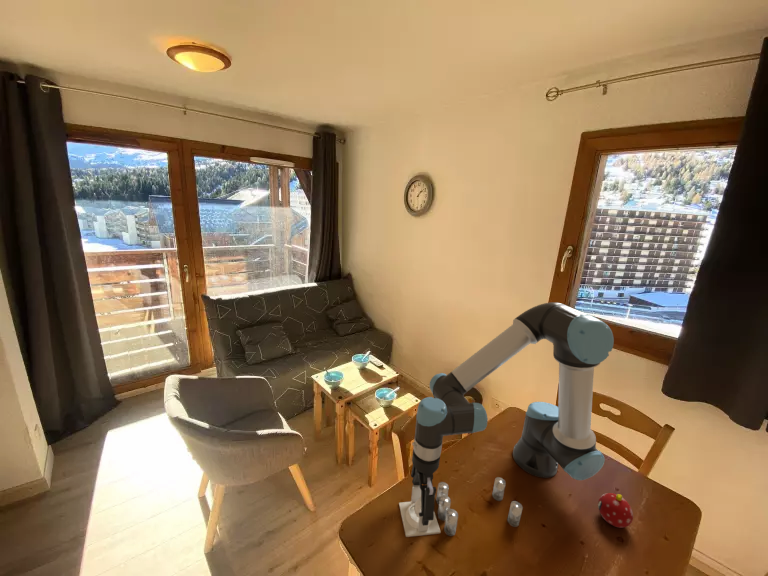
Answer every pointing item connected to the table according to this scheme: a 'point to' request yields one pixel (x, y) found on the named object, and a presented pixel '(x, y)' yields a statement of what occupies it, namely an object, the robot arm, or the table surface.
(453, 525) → the cylinder
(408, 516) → the hook
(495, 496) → the cylinder
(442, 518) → the spacer
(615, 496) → the christmas ornament
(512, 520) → the cylinder
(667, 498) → the table surface
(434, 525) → the felt pad
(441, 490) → the cylinder
